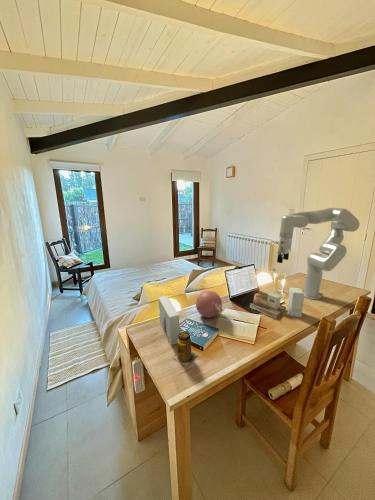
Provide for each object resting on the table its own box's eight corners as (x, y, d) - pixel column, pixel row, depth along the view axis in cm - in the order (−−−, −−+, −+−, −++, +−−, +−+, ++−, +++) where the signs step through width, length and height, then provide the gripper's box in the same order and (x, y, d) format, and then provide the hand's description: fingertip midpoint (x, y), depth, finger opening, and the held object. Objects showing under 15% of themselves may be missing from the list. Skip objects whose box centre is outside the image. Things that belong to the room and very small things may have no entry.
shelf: (260, 300, 145) (260, 296, 144) (285, 309, 133) (286, 305, 133) (249, 308, 135) (249, 303, 134) (275, 319, 123) (276, 314, 122)
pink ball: (206, 330, 113) (207, 304, 109) (191, 311, 131) (191, 288, 127) (230, 324, 118) (232, 299, 114) (213, 306, 136) (214, 284, 132)
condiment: (173, 358, 94) (173, 335, 91) (185, 348, 100) (185, 326, 97) (185, 366, 89) (186, 342, 86) (198, 355, 95) (198, 332, 92)
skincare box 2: (301, 317, 125) (305, 294, 121) (289, 316, 126) (293, 292, 122) (297, 310, 133) (301, 287, 129) (286, 309, 134) (289, 286, 130)
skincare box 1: (158, 321, 120) (157, 296, 116) (167, 319, 122) (167, 294, 118) (169, 346, 101) (169, 316, 97) (180, 343, 103) (180, 314, 99)
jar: (255, 301, 139) (256, 292, 137) (262, 304, 136) (263, 294, 134) (252, 304, 136) (253, 294, 134) (258, 306, 133) (259, 297, 131)
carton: (279, 307, 132) (281, 295, 130) (276, 310, 129) (277, 298, 127) (269, 303, 137) (270, 292, 135) (266, 306, 134) (267, 294, 132)
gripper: (286, 238, 125) (283, 265, 130) (297, 234, 137) (293, 259, 142) (274, 236, 130) (271, 262, 135) (285, 232, 142) (282, 257, 147)
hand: (282, 261), depth 138 cm, fingers open, 9 cm apart
